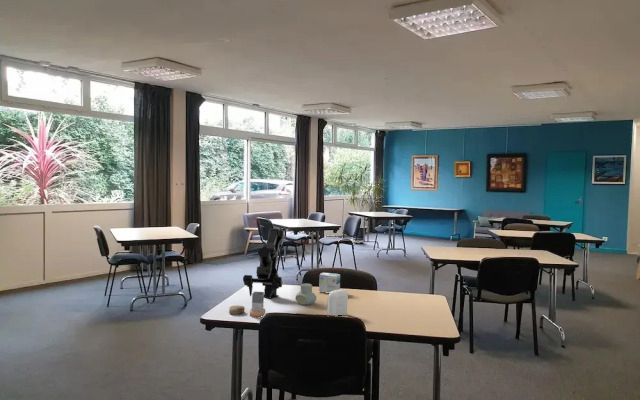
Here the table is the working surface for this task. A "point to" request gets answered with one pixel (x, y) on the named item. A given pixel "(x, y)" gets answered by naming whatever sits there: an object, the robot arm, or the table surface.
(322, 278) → the light bulb box
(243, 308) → the stand
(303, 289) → the grey plastic tee piece
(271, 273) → the robot arm
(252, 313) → the stand
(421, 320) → the table surface
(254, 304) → the plate
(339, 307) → the photo printer
